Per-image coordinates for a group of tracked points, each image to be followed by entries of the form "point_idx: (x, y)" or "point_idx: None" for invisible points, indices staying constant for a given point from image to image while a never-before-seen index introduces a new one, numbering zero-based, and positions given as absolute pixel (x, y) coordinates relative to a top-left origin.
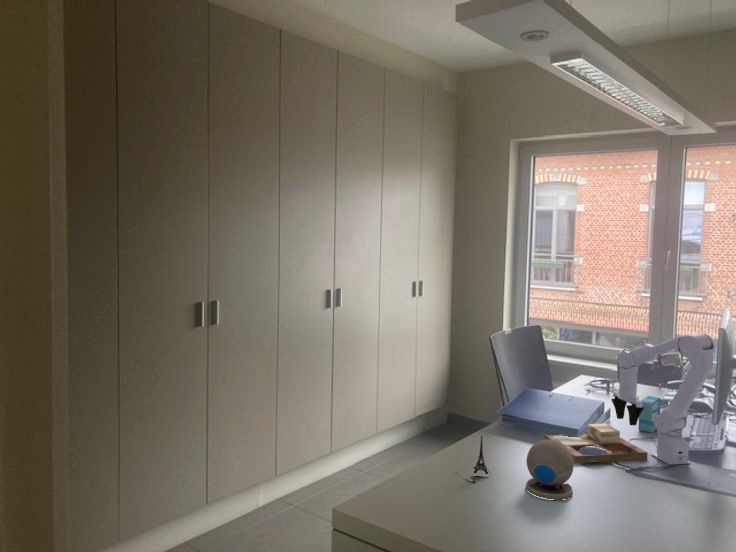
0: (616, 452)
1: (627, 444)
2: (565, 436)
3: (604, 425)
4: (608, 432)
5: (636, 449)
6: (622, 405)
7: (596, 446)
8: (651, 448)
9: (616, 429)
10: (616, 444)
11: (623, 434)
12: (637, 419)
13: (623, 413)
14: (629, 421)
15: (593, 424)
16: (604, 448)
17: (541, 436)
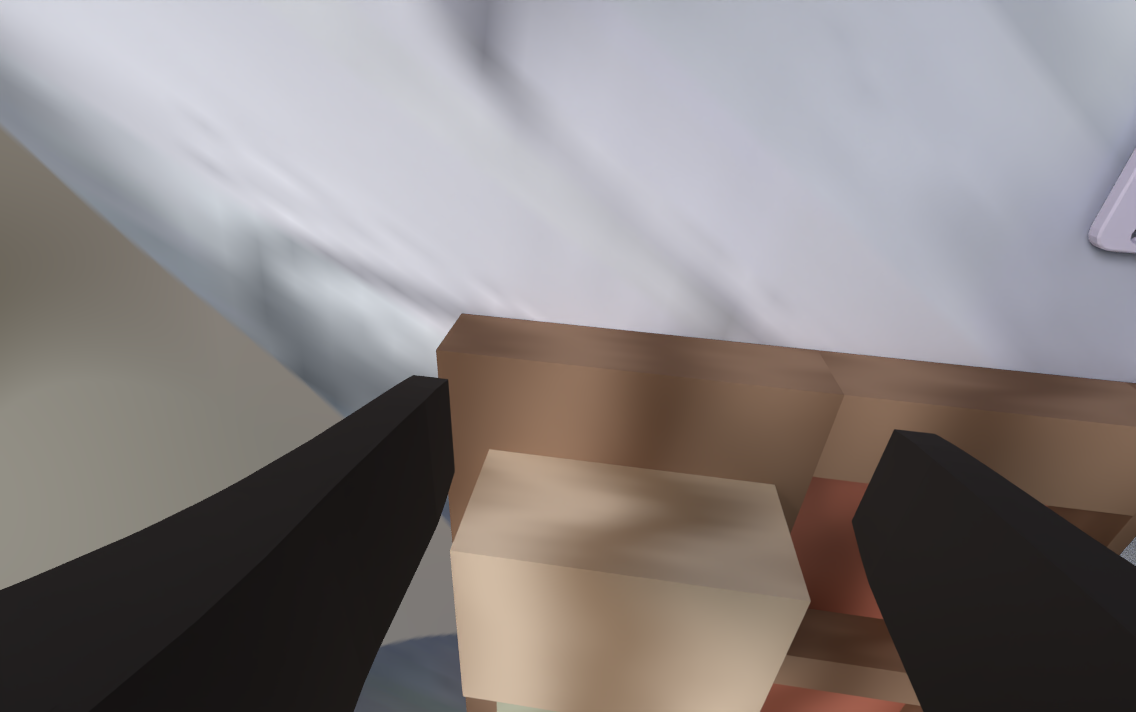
0: (833, 518)
1: (872, 457)
2: (509, 709)
3: (535, 604)
4: (765, 687)
5: (1055, 477)
6: (246, 707)
7: (778, 682)
8: (908, 23)
9: (731, 593)
10: (790, 521)
11: (284, 21)
12: (1066, 539)
13: (394, 450)
14: (884, 599)
15: (480, 665)
16: (847, 668)
17: (375, 682)
